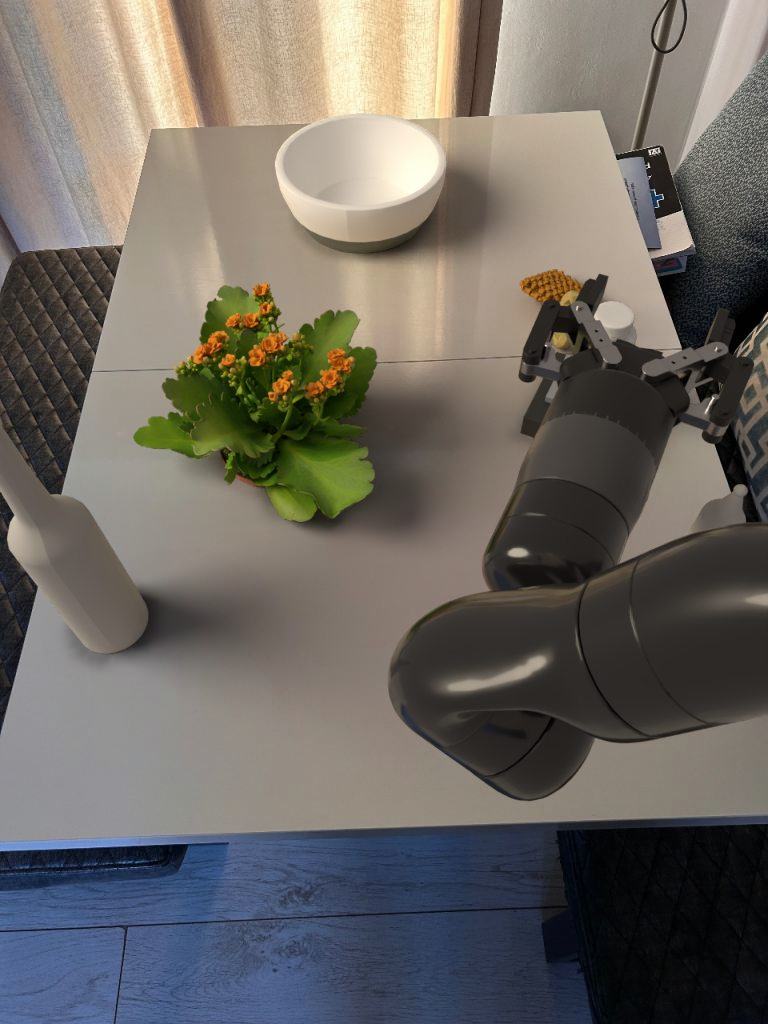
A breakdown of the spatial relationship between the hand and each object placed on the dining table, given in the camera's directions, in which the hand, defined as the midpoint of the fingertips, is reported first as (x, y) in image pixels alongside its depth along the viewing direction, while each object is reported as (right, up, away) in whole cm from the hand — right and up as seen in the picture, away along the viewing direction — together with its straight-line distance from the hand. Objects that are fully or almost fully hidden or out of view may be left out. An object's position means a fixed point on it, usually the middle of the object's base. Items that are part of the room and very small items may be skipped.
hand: (659, 301), depth 54 cm
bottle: (-45, -25, +18) cm, 55 cm away
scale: (+3, -4, +31) cm, 31 cm away
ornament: (+2, +9, +40) cm, 41 cm away
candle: (+4, -28, +15) cm, 32 cm away
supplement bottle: (+3, -2, +29) cm, 29 cm away
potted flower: (-33, -8, +29) cm, 45 cm away
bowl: (-23, +26, +52) cm, 63 cm away
